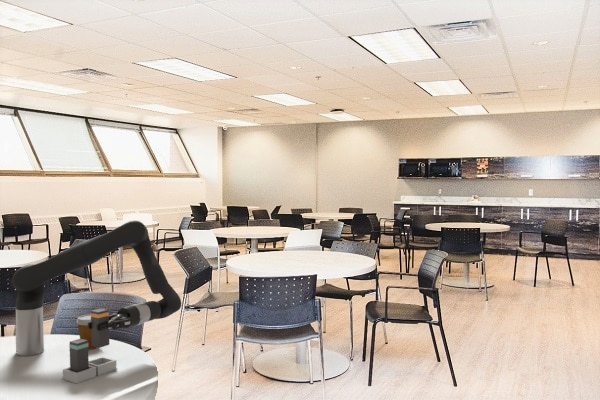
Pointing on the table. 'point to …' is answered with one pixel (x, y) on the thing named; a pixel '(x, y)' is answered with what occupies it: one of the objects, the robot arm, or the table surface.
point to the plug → (101, 336)
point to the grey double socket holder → (90, 370)
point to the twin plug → (79, 355)
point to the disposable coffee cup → (85, 329)
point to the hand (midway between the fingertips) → (93, 326)
